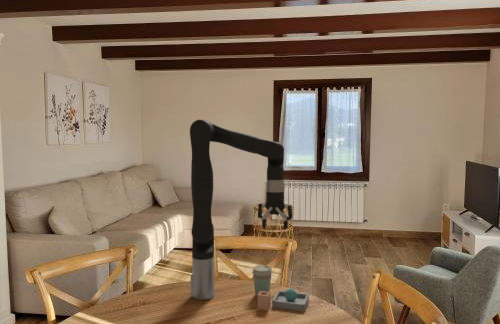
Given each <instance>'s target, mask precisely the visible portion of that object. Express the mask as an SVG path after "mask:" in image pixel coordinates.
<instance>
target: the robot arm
mask: <svg viewBox="0 0 500 324" xmlns="http://www.w3.org/2000/svg"><path fill="white" fill-rule="evenodd" d="M189 137H190V146H191V163H190V165H191V167H190V168H191V169H190V171H191V175H190V176H191V177H190V182H191V183H190V189H191V199H192V208H193V212H192V225H191V237H192V239H191V240H192V247H191V248H192V249H191V255H192V256H191V258H192V264H191V265H192V267H191V269H192V272H191V273H192V274H190V298H193V299H195V300H200V301H205V300H210V299H213V298H214V296H215V227H214V224H213V221H212V220H213V219H212V204H213V197H214V170H213V166H212V160H211V156H210V149H211V148H210V144H211V142H212V143H219V144H224V145H226V146H230V147H232V148H235V149H237V150H240V151H244V152H247V153H251V154H255V155H259V156H261V157H262V156H263V157H265V158H267V167H266V183H265V185H266V186H265V187H266V188H265V193H266V194H265V203H263V202H259V204H258V206H257V218H259V219H261V221H262V222H261V225H262V227H263V229H266V228H267V218H268V216H269V215H273V216H274V215H276V216H279V215H280V217H281V218H282V220H283V230H284V231H286V230H287V229H288V227H289V221H291V220H292V219H293V206H292V205H293V204H285V190H286V189H285V188H286V187H285V179H284V178H285V175H284V174H285V169H284V159H285V147H284V146H283V144H282V143H281V142H279V141H278V142H277V141H272V140H267V139H265V138H264V139H263V138H261V137H259V136H255V135H252V134H248V133H243V132H239V131H234V130H230V129H226V128H224V127H222V126H218V125H216V124H215V123H212V122H211V121H209V120H207V119H196V120H195V121H193V122H192V124H191V125H190V127H189ZM264 209H266V212H265V213H264V214H263V210H264ZM285 209H286V210H287V214H286V212H285V211H284V210H285ZM287 215H288V216H287Z"/></svg>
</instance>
